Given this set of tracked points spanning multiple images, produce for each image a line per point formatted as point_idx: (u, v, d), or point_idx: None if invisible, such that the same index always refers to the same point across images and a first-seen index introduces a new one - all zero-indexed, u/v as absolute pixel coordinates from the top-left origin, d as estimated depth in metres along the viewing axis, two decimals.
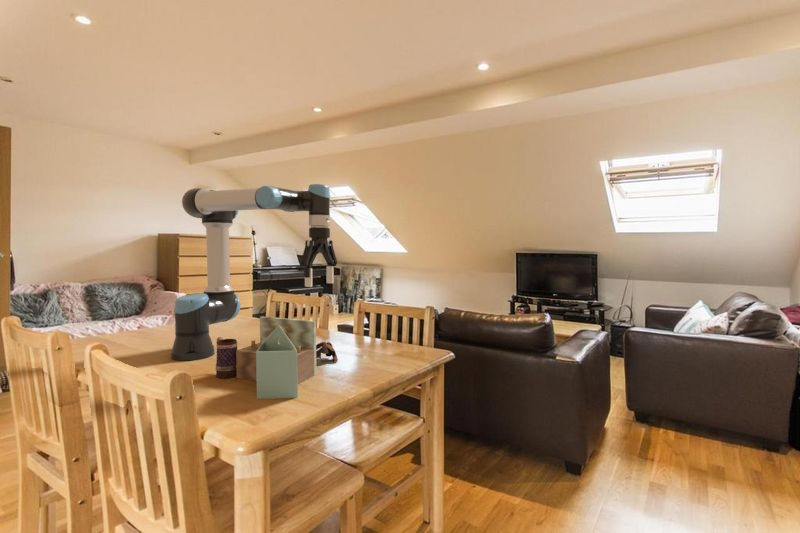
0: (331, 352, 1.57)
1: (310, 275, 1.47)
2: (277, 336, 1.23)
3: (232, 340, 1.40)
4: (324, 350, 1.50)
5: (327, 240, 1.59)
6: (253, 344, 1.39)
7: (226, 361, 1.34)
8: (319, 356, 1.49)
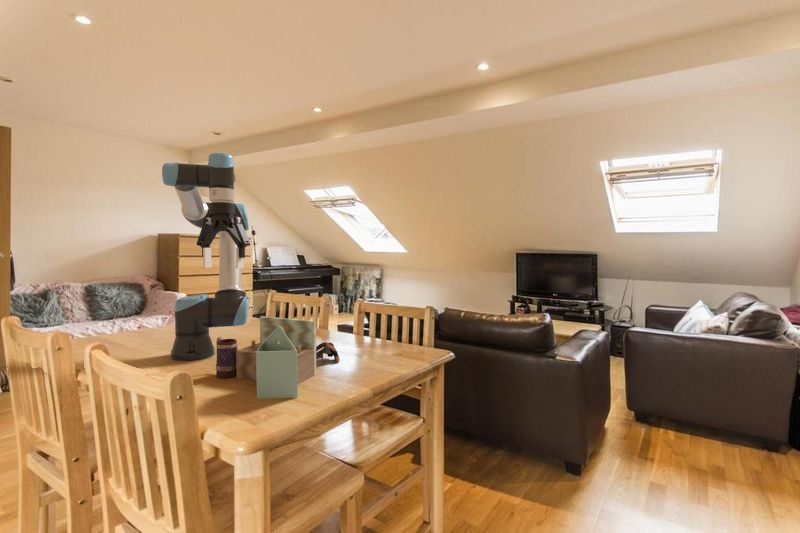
0: (333, 352, 1.56)
1: None
2: (277, 336, 1.23)
3: (232, 340, 1.40)
4: (326, 350, 1.50)
5: (238, 217, 1.34)
6: (253, 344, 1.39)
7: (226, 361, 1.34)
8: (321, 356, 1.49)
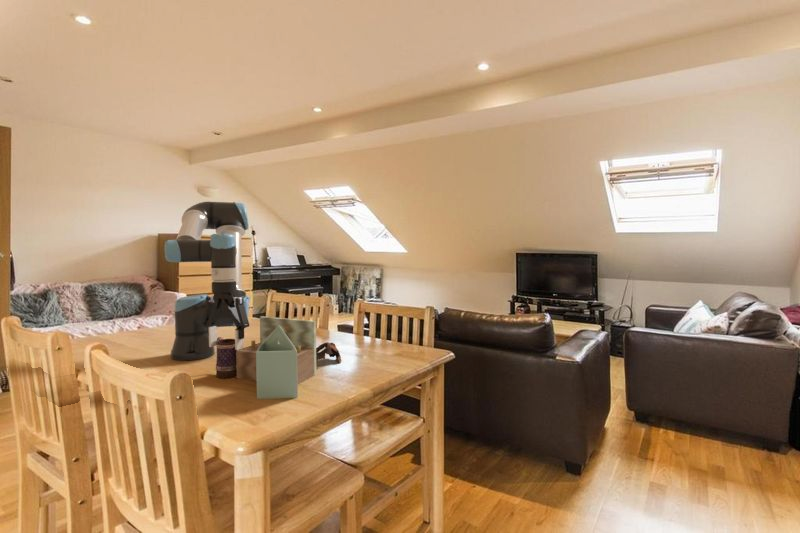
0: (335, 352, 1.56)
1: None
2: (277, 336, 1.23)
3: (232, 340, 1.39)
4: (328, 351, 1.49)
5: (240, 297, 1.35)
6: (253, 344, 1.39)
7: (226, 361, 1.34)
8: (323, 357, 1.48)
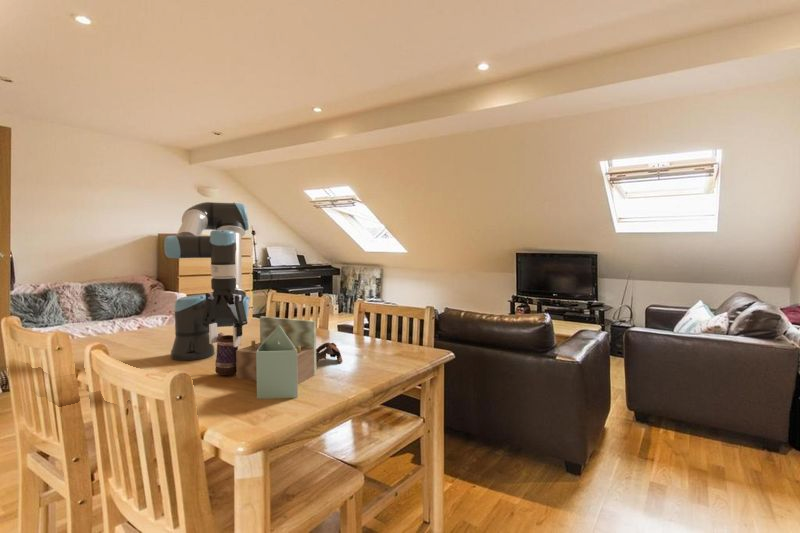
0: (335, 353, 1.56)
1: None
2: (277, 336, 1.23)
3: None
4: (329, 351, 1.49)
5: (240, 294, 1.36)
6: (253, 344, 1.39)
7: (226, 357, 1.35)
8: (324, 357, 1.48)
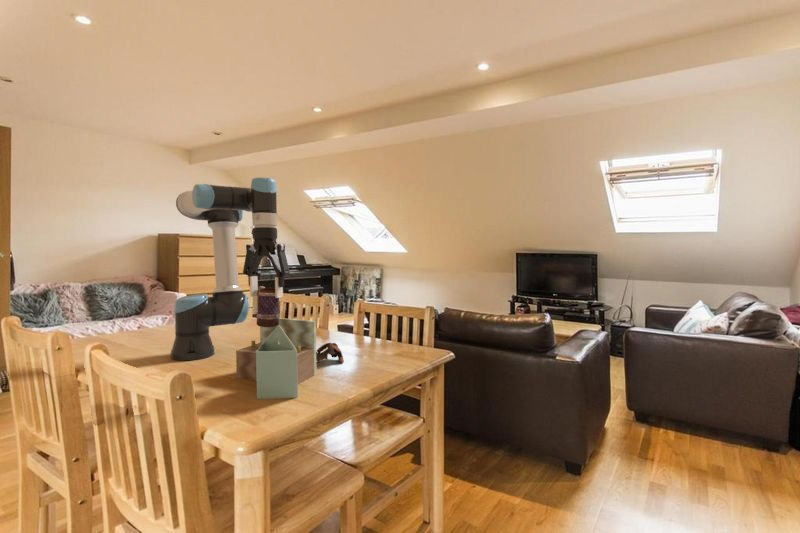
0: (337, 353, 1.56)
1: None
2: (277, 336, 1.23)
3: (274, 289, 1.35)
4: (330, 351, 1.49)
5: (282, 244, 1.32)
6: (253, 344, 1.39)
7: (268, 309, 1.30)
8: (326, 357, 1.48)
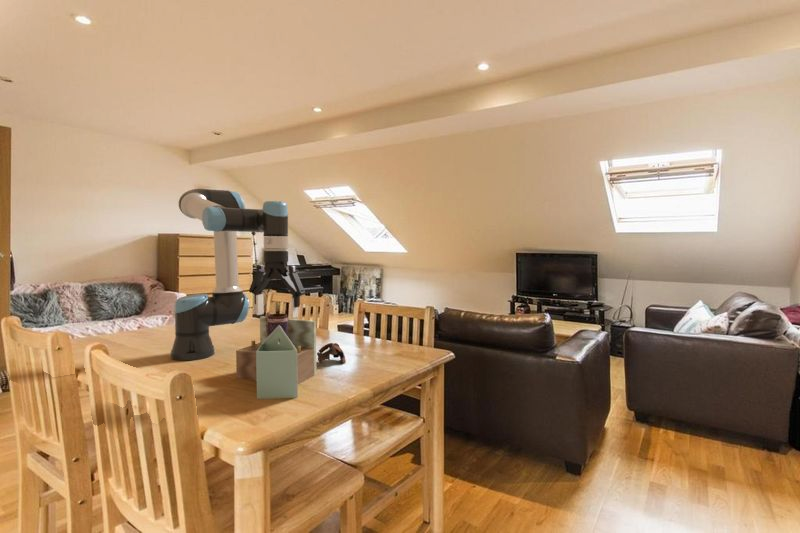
0: (339, 353, 1.55)
1: None
2: (277, 336, 1.23)
3: (282, 315, 1.36)
4: (333, 351, 1.49)
5: None
6: (253, 344, 1.39)
7: None
8: (328, 357, 1.47)
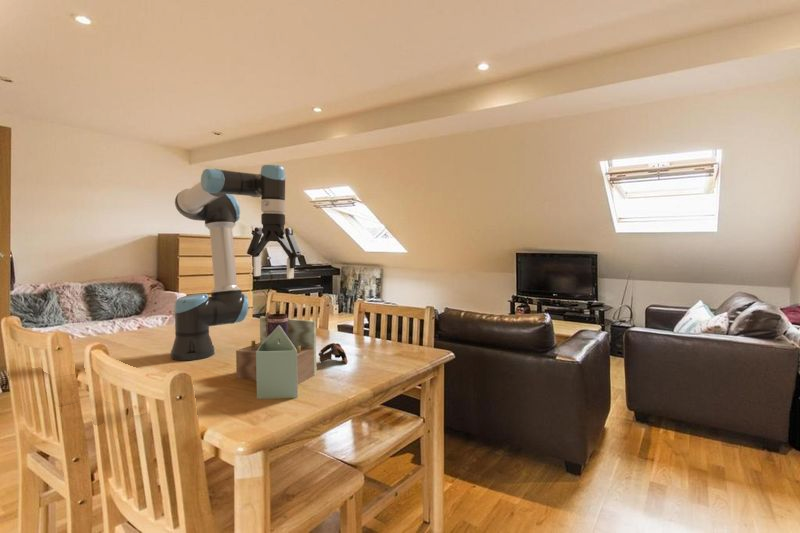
0: (340, 353, 1.55)
1: None
2: (277, 336, 1.23)
3: (282, 315, 1.36)
4: (334, 351, 1.48)
5: (289, 228, 1.36)
6: (253, 344, 1.39)
7: None
8: (330, 358, 1.47)
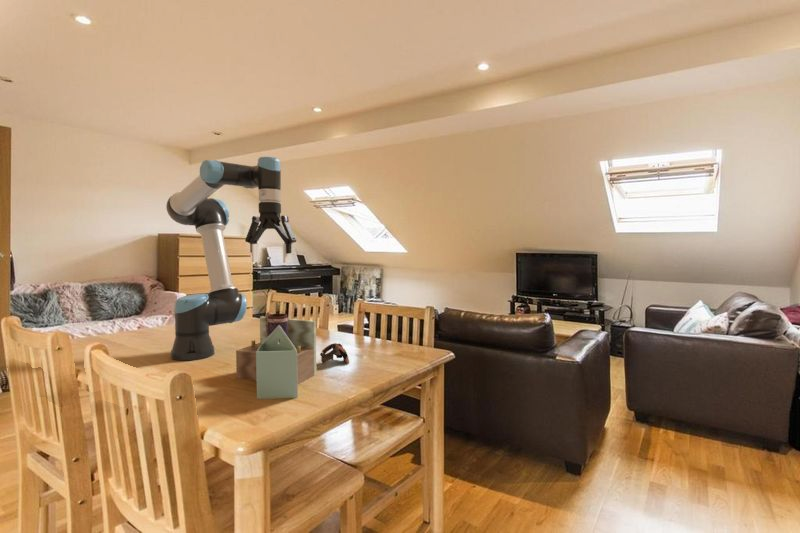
0: (342, 353, 1.55)
1: None
2: (277, 336, 1.23)
3: (282, 315, 1.36)
4: (336, 352, 1.48)
5: None
6: (253, 344, 1.39)
7: None
8: (331, 358, 1.47)
